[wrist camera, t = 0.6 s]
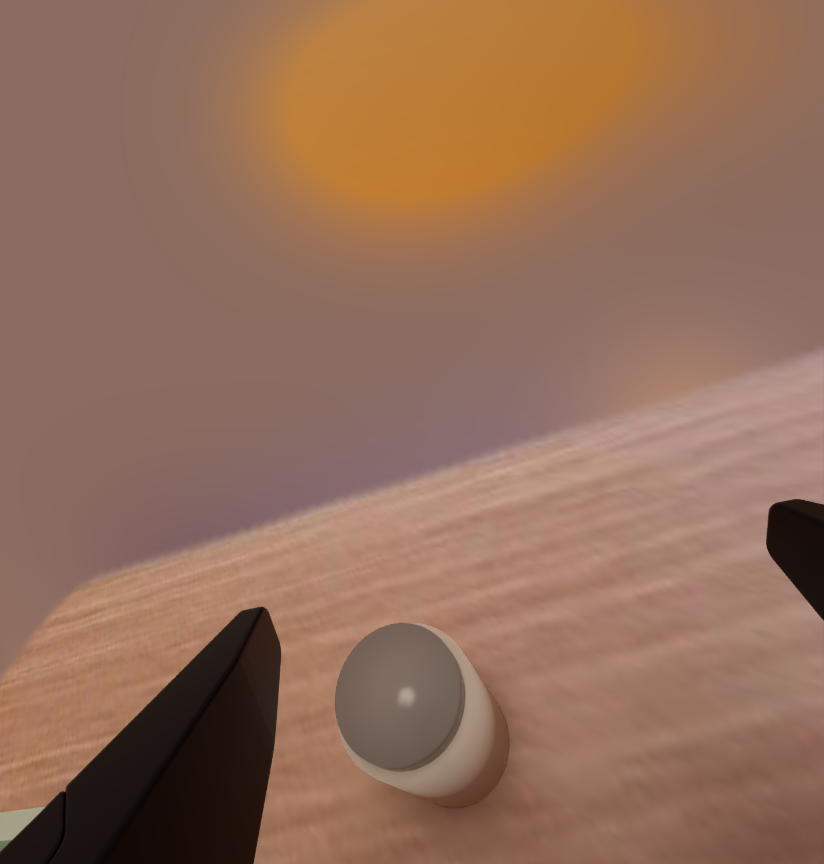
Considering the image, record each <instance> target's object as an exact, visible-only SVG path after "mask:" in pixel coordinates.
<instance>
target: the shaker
mask: <svg viewBox="0 0 824 864" xmlns="http://www.w3.org/2000/svg"><path fill="white" fill-rule="evenodd" d="M335 711H336V718H337V724H338V729H339V733H340V737H341V740H342V742H343V745H344V747H345V749H346V751H347V753H348V755H349V756H350V757H351V759H352V760H353V761H354V763H355V764H356V765H357V766H358V767H359V768H360V769H361V770H362V771H364V772H365V773H366V774H368V775H369V776H371V777H373V778H375V779H377V780H379V781H381V782H384V783H386V784H388V785H391V786H393V787H396V788H398V789H401V790H403V791H405V792H408V793H410V794H413V795H415V796H417V797H420V798H422V799H425V800H427V801H429V802H432V803H434V804H437V805H440V806H443V807H448V808H461V807H467V806H470V805H472V804H475V803H477V802H478V801H480V800H482V799H483V798H484V797H486V796H487V795H488V794H489V793H490V792H491V791H492V790H493V789H494V787H495V786H496V785H497V783H498V782H499V780H500V778H501V776H502V774H503V772H504V769H505V766H506V763H507V759H508V753H509V733H508V727H507V723H506V720H505V717H504V714H503V712H502V710H501V708H500V706H499V704H498V703H497V701H496V700H495V698H494V697H493V695H492V694H491V692H490V691H489V689H488V688H487V687H486V685H485V684H484V682H483V681H482V679H481V678H480V676H479V675H478V674H477V672H476V671H475V669H474V668H473V666H472V665H471V663H470V662H469V660H468V659H467V658H466V656H465V655H464V653H463V652H462V650H461V649H460V648H459V646H458V645H457V644H456V643H455V642H454V641H453V640H452V639H451V638H450V637H449V636H448V635H446V634H445V633H443V632H442V631H440V630H438V629H436V628H434V627H432V626H429V625H425V624H420V623H397V624H391V625H387V626H384V627H382V628H379V629H377V630H375V631H374V632H372V633H370V634H369V635H368V636H366V637H365V638H364V639H363V640H362V641H360V642H359V643H358V645H357V646H356V647H355V648H354V649H353V650H352V652H351V653H350V655H349V656H348V658H347V660H346V661H345V663H344V665H343V667H342V670H341V672H340V675H339V678H338V682H337V687H336V693H335Z"/></svg>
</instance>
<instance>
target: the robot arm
mask: <svg viewBox="0 0 824 864" xmlns="http://www.w3.org/2000/svg"><path fill="white" fill-rule="evenodd" d="M766 545H767V549H768V552H769V554H770V556H771V557H772V559H773V560H774V561H775V562H776V564H777V565H778V566H779V567H780V568H781V570H782V571H783V572H784V573H785V574H786V576H787V577H788V578H789V579H790V580H791V582H792V583H793V584H794V585H795V587H796V588H797V589H798V590H799V591H800V593H801V594H802V595H803V596H804V597H805V599H806V600H807V601H808V602H809V604H810V605H811V606H812V607H813V608H814V610H815V611H816V612H817V613H818V614H819V616H820V617H821V618H822V619H823V620H824V505H823V504H819V503H814V502H810V501H805V500H801V499H793V500H788V501H783V502H778V503H775V504H773V505H772V506H771V507H770V509H769V515H768V526H767V538H766ZM280 665H281V647H280V642H279V639H278V636H277V634H276V631H275V628H274V625H273V623H272V620H271V617H270V614H269V612H268V611H267V609H266V608H264V607H257V608H252V609H247V610H243V611H241V612H240V613H239V614H238V615H237V616H236V617H235V618H234V619H233V620H232V621H231V622H230V623H229V624H228V625H227V626H226V627H225V628H224V629H223V630H222V631H221V632H220V633H219V634H218V635H217V636H216V637H215V638H214V639H213V640H212V641H211V642H210V643H209V644H208V645H207V646H206V647H205V648H204V649H203V650H202V651H201V652H200V653H199V654H198V655H197V656H196V657H195V658H194V659H193V660H192V661H191V662H190V663H189V664H188V665H187V666H186V667H185V668H184V669H183V670H182V671H181V672H180V673H179V674H178V675H177V676H176V677H175V678H174V679H173V680H172V681H171V682H170V683H169V684H168V685H167V686H166V687H165V688H164V689H163V690H162V691H161V692H160V693H159V694H158V695H157V696H156V697H155V698H154V699H153V700H152V701H151V702H150V703H149V704H148V705H147V706H146V707H145V708H144V709H143V710H142V711H141V712H140V713H139V714H138V715H137V716H136V717H135V718H134V719H133V720H132V721H131V722H130V723H129V724H128V725H127V726H126V727H125V728H124V729H123V730H122V731H121V732H120V733H119V734H118V735H117V736H116V737H115V738H114V739H113V740H112V741H111V742H110V743H109V744H108V745H107V746H106V747H105V748H104V749H103V750H102V751H101V752H100V753H99V754H98V755H97V756H96V757H95V758H94V759H93V760H92V761H91V762H90V763H89V764H88V765H87V766H86V767H85V768H84V769H83V770H82V771H81V772H80V773H79V774H78V775H77V776H76V777H75V778H74V779H73V780H72V781H71V782H70V783H69V784H68V785H67V787H66V790H65V792H64V791H62V792H60V793H59V794H58V795H57V796H56V797H55V798H54V799H53V800H52V801H51V802H50V803H49V804H48V805H47V806H46V807H45V808H44V809H43V810H42V811H41V812H40V813H39V814H38V815H37V816H36V817H35V818H34V819H33V820H32V821H31V822H30V823H29V824H28V825H27V826H26V827H25V828H24V829H23V830H22V831H21V832H20V833H19V834H18V835H17V836H16V837H15V838H14V839H12V840H11V841H10V842H9V843H8V844H7V845H6V846H5V847H4V848H3V849H2V850H1V851H0V864H254V858H255V852H256V847H257V841H258V836H259V830H260V825H261V819H262V813H263V808H264V802H265V797H266V791H267V786H268V780H269V774H270V769H271V763H272V757H273V751H274V744H275V733H276V720H277V707H278V693H279V679H280Z"/></svg>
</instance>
